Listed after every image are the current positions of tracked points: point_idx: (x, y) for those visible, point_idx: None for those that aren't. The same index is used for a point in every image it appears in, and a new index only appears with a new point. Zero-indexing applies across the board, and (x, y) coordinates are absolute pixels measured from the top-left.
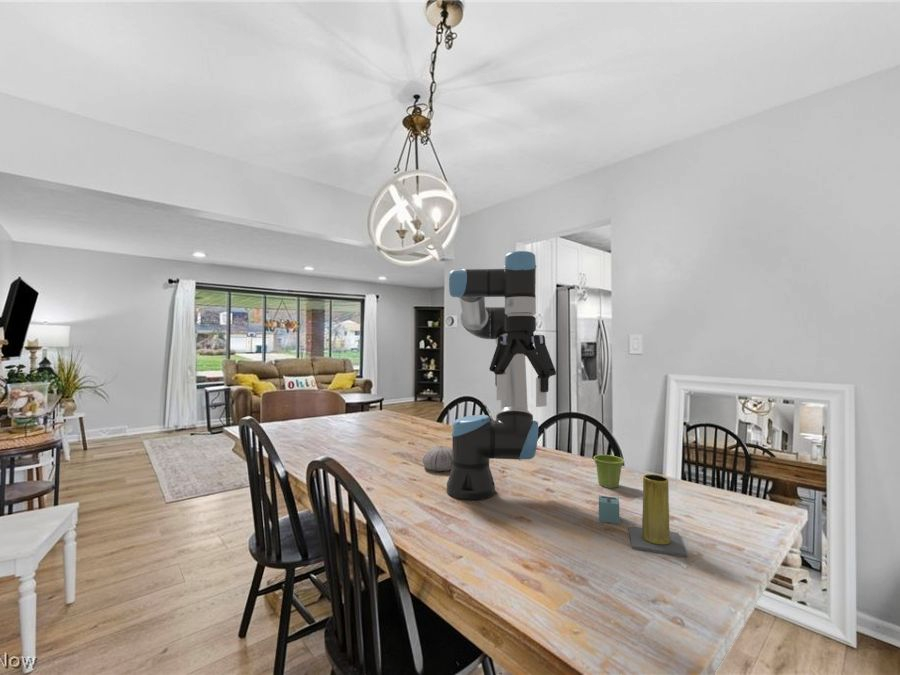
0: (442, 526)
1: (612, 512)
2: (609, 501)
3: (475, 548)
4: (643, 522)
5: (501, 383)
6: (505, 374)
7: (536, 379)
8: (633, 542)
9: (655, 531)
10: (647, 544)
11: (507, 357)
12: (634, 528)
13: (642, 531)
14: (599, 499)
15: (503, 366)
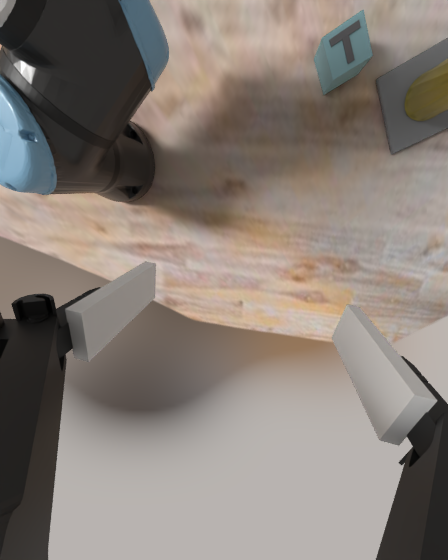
0: (185, 271)
1: (352, 72)
2: (352, 59)
3: (240, 283)
4: (422, 98)
5: (119, 317)
6: (82, 318)
7: (379, 433)
8: (393, 140)
9: (441, 111)
10: (414, 129)
11: (48, 506)
12: (388, 82)
13: (409, 100)
14: (330, 63)
15: (57, 388)
